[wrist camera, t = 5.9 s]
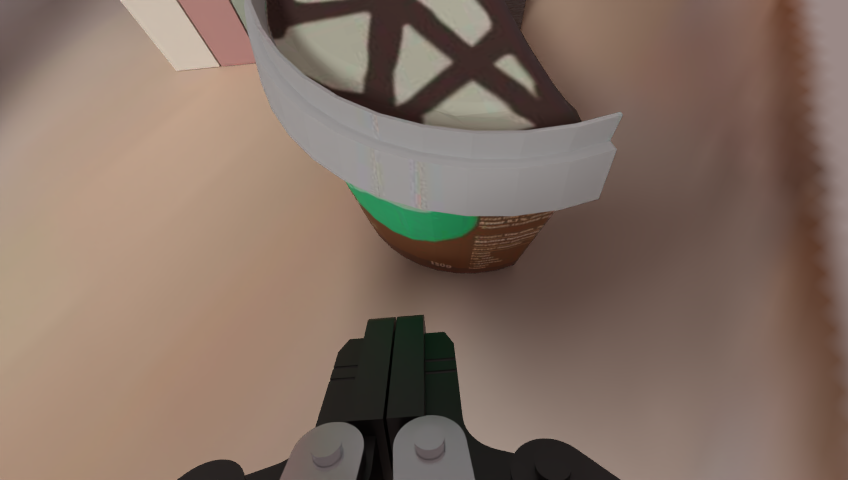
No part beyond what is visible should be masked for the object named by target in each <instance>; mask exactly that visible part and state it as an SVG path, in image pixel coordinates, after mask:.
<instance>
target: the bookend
mask: <svg viewBox="0 0 848 480" xmlns="http://www.w3.org/2000/svg"><path fill="white" fill-rule="evenodd" d="M504 1H505V3H506V5H507V7H508V9H509V11H510V12H511V14H512V16H513V18H514V20H515V22H516V24H517V26H518V27H519V29H521V23H522V18H523V12H524V7H525V1H526V0H504Z"/></svg>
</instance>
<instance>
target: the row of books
mask: <svg viewBox="0 0 848 480" xmlns="http://www.w3.org/2000/svg"><path fill="white" fill-rule="evenodd" d="M120 1H121V2H122V3H123V5H124V6H125V7H126V8H127V10H128V11H129V12H130V13H131V15H132V16H133V17H134V18H135V20H136V21H137V22H138V23H139V25H140V26H141V27H142V28H143V30H144V31H145V32H146V33H147V35H148V36H149V37H150V38H151V40H152V41H153V42H154V43H155V45H156V46H157V47H158V48H159V50H160V51H161V52H162V53H163V55H164V56H165V57H166V58H167V60H168V61H169V62H170V63H171V65H172V66H173V67H174V68H175V70H176V71H180V70H190V69H200V68H209V67H219V66H220V64H221V66H229V65H239V64H249V63H256V61H255V58H254V54H253V50H252V46H251V43H250V39H249V35H248V31H247V24H246V17H245V9H244V1H245V0H120Z"/></svg>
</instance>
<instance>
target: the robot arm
mask: <svg viewBox="0 0 848 480" xmlns="http://www.w3.org/2000/svg"><path fill="white" fill-rule="evenodd" d="M177 480H620V479H619V478H617V477H616V476H614V475H613V474H611V473H610V472H609V471H607V470H606V469H604V468H603V467H601V466H600V465H599V464H597V463H596V462H594V461H593V460H591V459H590V458H588V457H587V456H586V455H584V454H583V453H581V452H580V451H578V450H577V449H575V448H574V447H572V446H571V445H569V444H566V443H564V442H561V441H558V440H554V439H535V440H532V441H529V442H527V443H525V444H523V445H522V446H521V447H519V448H518V450H517V451H516V452H515V453H510V452H506V451H501V450H497V449H494V448H490V447H488V446H486V445H484V444H482V443H480V442H479V441H477V440H476V439H475V438H474V437H473V436H472V435H471V434H470V433H469V432H468V430H467V429H466V427H465V425H464V422H463V417H462V409H461V400H460V392H459V384H458V375H457V367H456V359H455V350H454V343H453V342H452V341H451V339H450V338H449V337H448V336H447V335H446V333H445V332H437V333H426V329H425V320H424V315H415V316H402V317H397V320H396V317H391V318H378V319H369V320H368V323H367V327H366V332H365V336H364V338H361V339H350V340H349V341H348V342H347V343H346V344H345V345H344V347H343V348H342V349H341V350H340V351H339V352H338V355H337V358H336V362H335V365H334V369H333V371H332V375H331V378H330V382H329V384H328V388H327V391H326V394H325V397H324V401H323V404H322V407H321V411H320V414H319V417H318V420H317V424H316V427H315V428H314V429H312V430H310V431H309V432H307V433H306V434H305V435H304V436H303V437H302V438H301V439H300V440H299V441H298V442H297V443H296V445H295V446H294V448H293V450H292V452H291V455H290V457H289V459H287V460H285V461H283V462H281V463H279V464H276V465H274V466H271V467H268V468H265V469H262V470H260V471H257V472H254V473H251V474H248V475H244V472H243V470H242V468H241V467H240V465H239V464H237V463H236V462H233V461H231V460H215V461H210V462H207V463H204V464H202V465H200V466H197V467H196V468H194V469H192V470H190V471H189V472H187V473H186V474H184V475H183V476H182V477H180V478H179V479H177Z"/></svg>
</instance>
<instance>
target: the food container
mask: <svg viewBox="0 0 848 480" xmlns="http://www.w3.org/2000/svg"><path fill="white" fill-rule="evenodd" d="M244 9H245V17H246V24H247V31H248V35H249V39H250V43H251V46H252V50H253V54H254V58H255V61H256V65H257V69H258V72H259V76H260V80H261V83H262V86H263V89H264V91H265V94H266V96H267V99H268V101H269V104H270V106H271V109H272V111H273V112H274V114H275V115H276V117H277V118H278V120H279V121H280V123H281V124H282V126H283V127H284V129H285V130H286V132H287V133H288V135H289V136H290V137H291V138H292V139H293V140H294V141H295V142H296V143H297V144H298V145H299V146H300V147H301V148H302V149H303V150H304V151H305V152H306V153H307V154H308V155H309V156H310V157H311V158H312V159H313V160H315V161H316V162H318V163H319V164H321V165H322V166H324V167H325V168H326V169H328V170H329V171H331V172H332V173H334V174H335V175H337V176H338V177H340V178H341V179H342V180H344V181H345V182H346V183H347V185H348V187H349V188H350V190H351V191H352V193H353V195H354V196H355V198H356V200H357V201H358V203H359V205H360V206H361V208H362V210H363V211H364V213H365V215H366V216H367V218H368V220H369V221H370V223H371V224H372V226H373V227H374V229H375V230H376V231H377V233H378V234H379V236H380V237H381V238H382V239H383V240H384V241H385V242H386V243H387V244H388V245H389V246H390V247H391V248H393V249H394V250H395V251H397V252H398V253H400V254H401V255H403V256H404V257H406V258H408V259H410V260H412V261H414V262H416V263H418V264H420V265H423V266H426V267H429V268H432V269H436V270H440V271H446V272H453V273H480V272H487V271H494V270H498V269H501V268H504V267H508V266H511V265H514V264H515V263H516V261H517V260H518V259H519V257H520V256H521V255H522V254H523V252H524V251H525V250H526V248H527V247H528V246H529V244H530V243H531V242H532V240H533V239H534V238H535V237H536V235H537V234H538V233H539V231H540V230H541V229H542V227H543V226H544V225H545V223H546V222H547V221H548V220H549V218H550V217H551V216H552V214H553V213H554V212H555V210H561V209H565V208H568V207H572V206H575V205H579V204H582V203H586V202H589V201H593V200H597V199H599V197H600V194H601V192H602V189H603V186H604V183H605V181H606V178H607V175H608V172H609V170H610V167H611V164H612V161H613V159H614V156H615V153H616V150H617V149H616V147H615V146H614V145H613V144H612V142H611V141H610V140H611V138H612V136H613V134H614V132H615V130H616V128H617V126H618V124H619V122H620V120H621V118H622V116H623V114H622V113H621V112H617V113H614V114H610V115H606V116H602V117H598V118H595V119H591V120H587V121H583V122H581V120H580V118H579V116H578V113H577V111H576V110H575V109H574V108H573V107H572V106H571V105H570V104H569V103H568V102H567V101H566V100H565V98H564V97H563V96H562V95H561V93H560V92H559V91H558V89H557V88H556V87H555V86H554V84H553V83H552V81H551V80H550V78H549V76H548V75H547V73H546V72H545V70H544V69H543V67H542V66H541V64H540V62H539V61H538V59H537V58H536V56H535V55H534V53H533V52H532V50H531V48H530V47H529V45H528V43H527V42H526V40H525V38H524V36H523V35H522V33H521V31H520V29H519V27H518V26H517V24H516V22H515V20H514V18H513V16H512V14H511V12H510V11H509V9H508V7H507V5H506V3H505V1H504V0H245V1H244Z"/></svg>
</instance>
